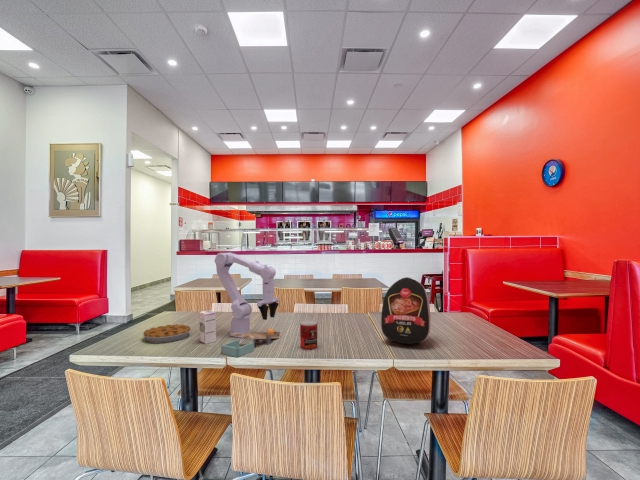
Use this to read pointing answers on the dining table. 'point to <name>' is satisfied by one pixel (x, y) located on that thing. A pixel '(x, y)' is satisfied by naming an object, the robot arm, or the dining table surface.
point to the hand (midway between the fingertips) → (268, 318)
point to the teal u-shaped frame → (236, 348)
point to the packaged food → (406, 312)
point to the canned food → (308, 334)
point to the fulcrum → (264, 340)
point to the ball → (270, 331)
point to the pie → (167, 333)
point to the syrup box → (207, 326)
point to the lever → (258, 335)
